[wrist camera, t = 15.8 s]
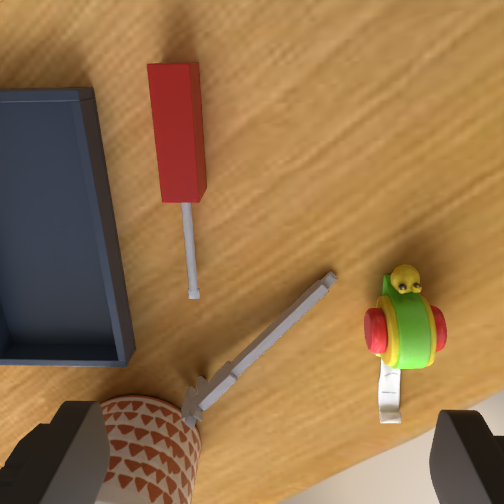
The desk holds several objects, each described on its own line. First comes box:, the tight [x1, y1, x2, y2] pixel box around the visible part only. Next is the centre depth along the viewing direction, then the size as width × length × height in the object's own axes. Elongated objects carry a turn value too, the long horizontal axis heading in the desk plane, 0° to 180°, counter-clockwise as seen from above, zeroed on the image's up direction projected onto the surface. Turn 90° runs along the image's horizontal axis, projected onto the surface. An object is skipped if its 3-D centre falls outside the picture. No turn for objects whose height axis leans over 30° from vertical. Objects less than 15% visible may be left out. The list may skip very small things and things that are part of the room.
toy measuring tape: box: [364, 265, 447, 423], centre depth 40 cm, size 6×20×7 cm, turn 4°
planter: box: [94, 395, 201, 504], centre depth 44 cm, size 14×14×13 cm
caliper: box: [181, 271, 338, 430], centre depth 40 cm, size 20×1×6 cm, turn 136°
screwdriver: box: [147, 62, 207, 299], centre depth 35 cm, size 20×3×4 cm, turn 1°
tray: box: [0, 87, 136, 367], centre depth 38 cm, size 26×14×3 cm, turn 1°
